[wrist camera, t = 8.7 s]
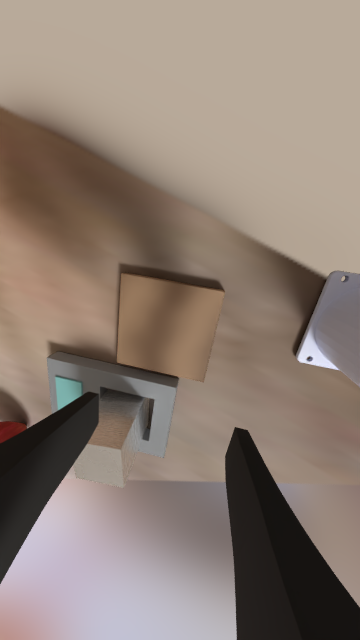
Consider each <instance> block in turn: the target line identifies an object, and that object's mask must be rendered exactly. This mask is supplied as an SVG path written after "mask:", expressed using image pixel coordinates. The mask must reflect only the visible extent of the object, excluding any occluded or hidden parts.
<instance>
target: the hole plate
mask: <svg viewBox="0 0 360 640" xmlns="http://www.w3.org/2000/svg"><path fill="white" fill-rule="evenodd" d="M47 366H48V376H49V387H50V398H51V408H52V414H53V413H55V412H56V411H58V410H60V409H61V408H63V407H64V406H66V405H67V404H69V403H71V402H72V401H74V400H75V399H77V398H78V397H80V396H82V395H83V394H85V393H86V392H88V391H89V392H93V393H97V394H99V400H100V399H101V398H102V396H103V395H104V394H105V393H106V391H107V388H109V389H113V390H118V391H122V392H126V393H130V394H134V395H138V396H142V397H147V398H151V399H155V401H154V408H153V415H152V422H151V429H147V428H146V430H145V433H144V436H143V438H142V441H141V444H140V446H139V449H138V451H140V452H143V453H147V454H151V455H154V456H158V457H162V458H164V455H165V451H166V446H167V441H168V435H169V430H170V425H171V419H172V414H173V408H174V403H175V397H176V392H177V386H178V381H179V379H177V378H173V377H168V376H164V375H160V374H155V373H151V372H147V371H142V370H138V369H133V368H129V367H125V366H120V365H116V364H111V363H107V362H103V361H98V360H94V359H89V358H85V357H81V356H76V355H72V354H67V353H63V352H59V351H57V352H56V353H54V354H52V355H51V356H49V357H47Z"/></svg>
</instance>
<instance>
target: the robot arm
mask: <svg viewBox="0 0 360 640" xmlns="http://www.w3.org/2000/svg"><path fill="white" fill-rule="evenodd" d="M343 276H345V280H344V281H341V278H342V277H343ZM309 356H311V357H310V359H306V358H307V357H309ZM296 359H297V360H298V361H299V362H302V363H307V364H312V365H317V366H321V367H326V368H331V369H336V370H340V371H342V372H343V373H344V374H345V375H346V376H347V377H349V378H350V379H351V380H352V381H353V382H354V383H355V384H357V385H358V386H359V387H360V274H356V273H349V272H343V271H334V272H332V273H330V274H329V276H328V278H327V281H326V283H325V286H324V288H323V290H322V293H321V295H320V298H319V300H318V303H317V305H316V307H315V310H314V312H313V315H312V317H311V320H310V322H309V325H308V327H307V329H306V332H305V334H304V337H303V339H302V342H301V344H300V346H299V349H298V351H297V354H296ZM98 423H99V394H97V393H93V392H89V391H88V392H86V393H85V394H83V395H82V396H80V397H78V398H77V399H75V400H74V401H72V402H71V403H69V404H67V405H66V406H64V407H63V408H61V409H60V410H58V411H56V412H55V413H53V414H51V415H50V416H48V417H46V418H45V419H43V420H42V421H40V422H38V423H36V424H35V425H33V426H31V427H29V428H28V429H26V430H24V431H22V432H21V433H19V434H17V435H15V436H13V437H12V438H10V439H8V440H6V441H4V442H2V443H0V584H1V582H2V580H3V578H4V576H5V575H6V573H7V571H8V569H9V567H10V566H11V564H12V562H13V560H14V559H15V557H16V555H17V553H18V552H19V550H20V548H21V546H22V545H23V543H24V541H25V539H26V538H27V536H28V534H29V532H30V531H31V529H32V527H33V525H34V524H35V522H36V521H37V519H38V517H39V515H40V514H41V512H42V510H43V509H44V507H45V505H46V504H47V502H48V501H49V499H50V498H51V496H52V494H53V493H54V492H55V490H56V489H57V487H58V486H59V484H60V483H61V481H62V480H63V479H64V477H65V476H66V474H67V473H68V471H69V470H70V468H71V467H72V465H73V464H74V463H75V461H76V460H77V458H78V457H79V455H80V454H81V452H82V451H83V449H84V448H85V446H86V445H87V443H88V442H89V440H90V438H91V436H92V435H93V433H94V431H95V429H96V427H97V425H98ZM225 471H226V489H227V499H228V508H229V517H230V526H231V536H232V545H233V556H234V572H235V593H236V594H235V595H236V623H237V624H236V625H237V640H360V607H359V606H358V605H357V603H356V602H355V601H354V599H353V598H352V597H351V595H350V594H349V593H348V591H347V590H346V589H345V587H344V586H343V585H342V583H341V582H340V581H339V579H338V578H337V577H336V575H335V574H334V572H333V571H332V570H331V568H330V567H329V565H328V564H327V562H326V561H325V560H324V558H323V557H322V555H321V554H320V553H319V551H318V549H317V548H316V546H315V545H314V544H313V542H312V541H311V539H310V538H309V536H308V535H307V533H306V532H305V530H304V528H303V527H302V526H301V524H300V522H299V521H298V519H297V518H296V516H295V514H294V513H293V511H292V510H291V508H290V506H289V505H288V503H287V501H286V500H285V498H284V497H283V495H282V493H281V491H280V490H279V488H278V486H277V484H276V483H275V481H274V479H273V477H272V475H271V474H270V472H269V470H268V468H267V466H266V465H265V463H264V461H263V459H262V457H261V455H260V453H259V451H258V449H257V447H256V445H255V443H254V441H253V440H252V438H251V436H250V434H249V432H248V430H244V429H240V428H236V427H235V429H234V432H233V435H232V438H231V441H230V444H229V447H228V450H227V453H226V456H225Z"/></svg>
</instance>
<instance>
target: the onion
mask: <svg viewBox="0 0 360 640" xmlns="http://www.w3.org/2000/svg"><path fill="white" fill-rule="evenodd" d="M26 429H27V427H26V425H25V424H24V423H18V422H9V421H5V422H0V443H2V442H4V441H6V440H8V439H10V438H12V437H13V436H15V435H17V434H19V433H21V432H22V431H24V430H26Z"/></svg>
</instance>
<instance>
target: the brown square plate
mask: <svg viewBox="0 0 360 640" xmlns="http://www.w3.org/2000/svg"><path fill="white" fill-rule="evenodd" d="M224 295H225V291H224V290H221V289H215V288H209V287H204V286H198V285H193V284H187V283H182V282H176V281H170V280H165V279H159V278H154V277H148V276H142V275H137V274H131V273H121V286H120V307H119V327H118V348H117V363H121V364H125V365H130V366H134V367H139V368H143V369H147V370H152V371H156V372H161V373H165V374H170V375H174V376H178V377H183V378H187V379H192V380H196V381H200V382H204V379H205V375H206V371H207V366H208V362H209V358H210V354H211V350H212V345H213V341H214V337H215V333H216V328H217V324H218V320H219V316H220V312H221V307H222V303H223V299H224Z"/></svg>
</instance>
